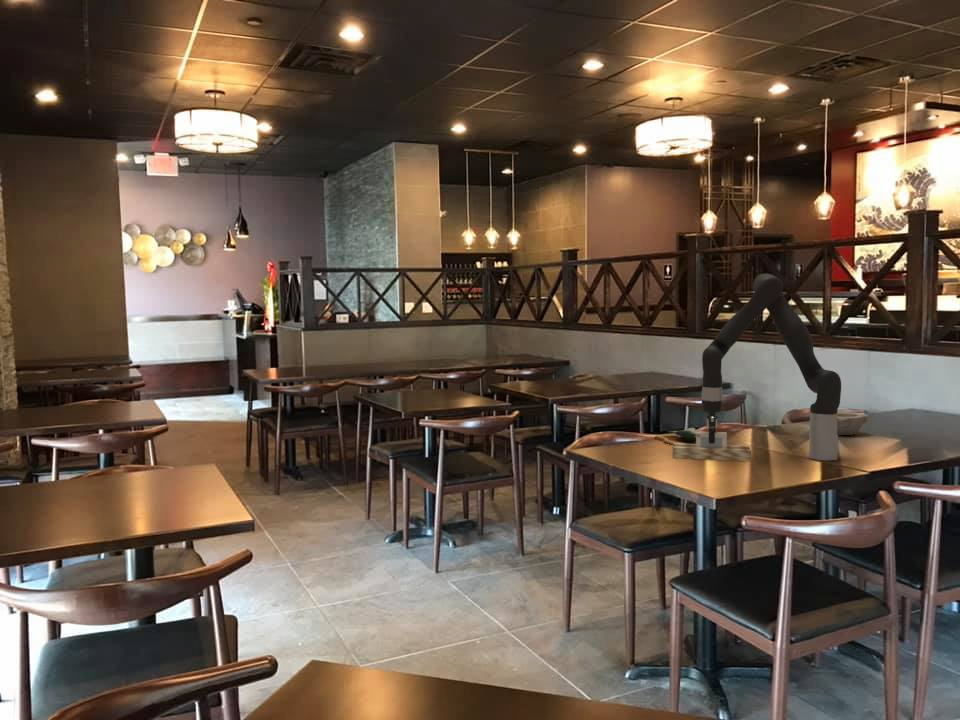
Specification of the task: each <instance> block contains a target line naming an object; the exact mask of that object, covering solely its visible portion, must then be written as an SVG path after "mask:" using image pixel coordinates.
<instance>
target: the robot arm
mask: <svg viewBox="0 0 960 720" xmlns="http://www.w3.org/2000/svg"><path fill="white" fill-rule="evenodd" d="M752 288H753V292H754V293H753V294H752V296H751V298H750V299H749V300H748V301H747V303H746V304H745V305H744V306H743V307H742V308H741V309H740V310H739V311H737V312H736V313H735V314H734V315H733V316H731V317H730V319H728V321H727V322H726V323H725V324H724V326H723V327H722V328H721V329H720V331H719V332H718V334H717V335H716V337H715V338H714V339H713V340H712V342H710V343H709V345H708V346H707V347H706V348H705V349H703V351H702V355H701V357H702V358H701V361H702V387H701V388H702V389H701V411H702V412H705V413H707V415H705V419H706V428H707V432H709V443H710V444H714V443H715V433H716V432H717V430H716V429H717V426H718V423H717V422H718V415H716V413H721V412H723V375H722V360H723V359H724V357H725V355H727V353H728V352H729V351H730V349H731V348H732V347H733V346H734V345H735V344H736V343H737V341H738V340H739V339H741V337H742V335H743V334H744V333H745V332H746V330H747V329H748V328H749V327H750V326H751V325H752V323H754V321H755V320H756V319H757V318H758V317H759V316H760V315H761V314H762V313H763V312H764V311H765V309H766V310H767V311H768V313H769V315H770V316H771V320H772V321H773V324H774V326H775V328H776V330H777V331H778V334H779V336H780V338H781V339H782V341H783V343H784V345H785V346H786V347H787V349H788V350H789V352H790V355H791V356H792V357H793V359H794V361H795V363H796V364H797V366H798V368H799V370H800V373H801V374H802V377H803V379H804V381H805V384H806V386H807V387H808V389H809V390H810V391H811V392H813V393H815V394H816V399H815V402H814V403H812V404H811V405H810V406H809V435H808V436H809V439H808V458H809V459H813V460H817V461H827V462H828V461H838V443H839V441H838V440H839V435H837V412H838V410H839V407H840V405H841V396H842V395H841V393H842V381H841V376H840V375H839V373H837V372H835V371H833V370H829V369H825V368H824V367H822V365H821V364H820V363H819V361H818V359H817V357H816V354H815V352H814V351H815V350H814V343H813V338H812V336H811V333H810V331H809V330H808V328H807V326H806V324H805V323H804V321H803V320H802V319H801V317H800V316H799V314H798V313H797V312H796V311H795V310H794V309H793V307H792V306H791V305H790V304H789V302H788V301H787V299H786V298H785V296H784V295H785V294H784V293H783V292H784V291H783V290H784V284H783V281H782V280H781V279H780V278H779V277H777V276H775V275H774V274H771V273H760V274H759V275H757V276H756V277H755V278H754V280H753V284H752Z"/></svg>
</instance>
